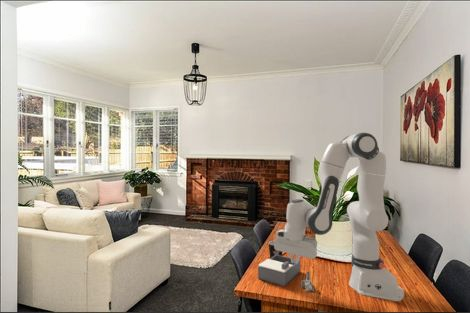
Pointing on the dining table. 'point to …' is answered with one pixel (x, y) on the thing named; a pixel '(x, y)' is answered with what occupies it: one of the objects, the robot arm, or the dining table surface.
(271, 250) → the coffee mug
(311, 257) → the robot arm
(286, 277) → the box
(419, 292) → the dining table surface
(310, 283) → the house of cards
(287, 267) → the sliding lid
